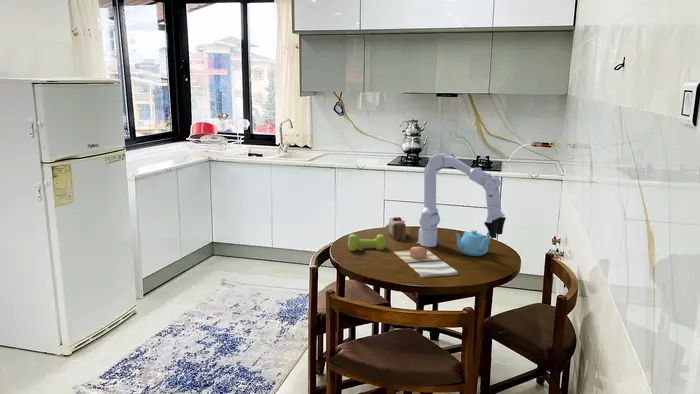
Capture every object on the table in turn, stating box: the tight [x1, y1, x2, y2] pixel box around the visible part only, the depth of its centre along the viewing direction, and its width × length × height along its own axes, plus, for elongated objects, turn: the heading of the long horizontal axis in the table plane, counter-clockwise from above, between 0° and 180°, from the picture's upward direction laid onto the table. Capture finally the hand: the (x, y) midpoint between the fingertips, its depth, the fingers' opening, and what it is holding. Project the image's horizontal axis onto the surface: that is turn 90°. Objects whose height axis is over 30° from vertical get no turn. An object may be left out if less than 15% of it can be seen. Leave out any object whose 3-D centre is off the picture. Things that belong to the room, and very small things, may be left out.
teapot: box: [454, 229, 491, 257], centre depth 232 cm, size 15×15×10 cm
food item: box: [388, 216, 407, 241], centre depth 257 cm, size 14×8×10 cm, turn 6°
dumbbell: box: [347, 233, 386, 252], centre depth 234 cm, size 16×8×7 cm, turn 91°
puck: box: [409, 246, 428, 260], centre depth 222 cm, size 7×7×4 cm
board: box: [393, 249, 459, 279], centre depth 217 cm, size 31×16×1 cm, turn 15°
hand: (496, 236), depth 222 cm, fingers open, 7 cm apart
